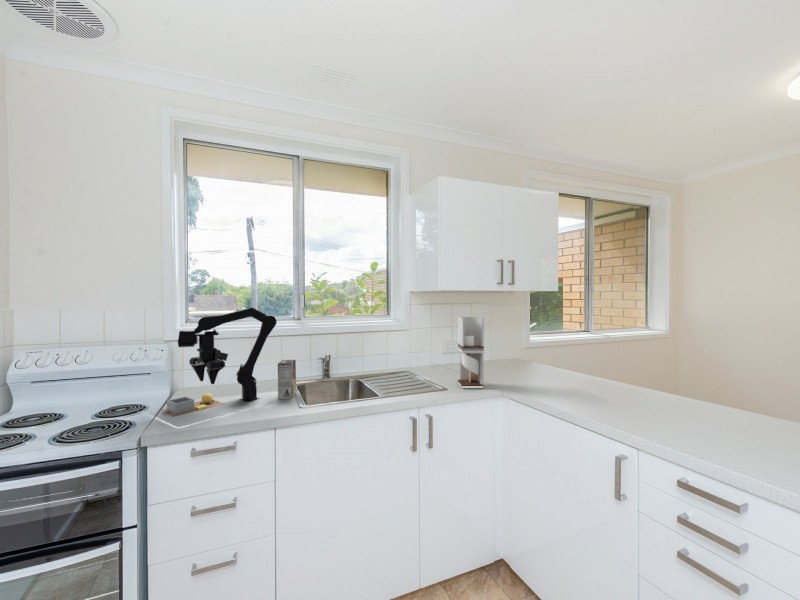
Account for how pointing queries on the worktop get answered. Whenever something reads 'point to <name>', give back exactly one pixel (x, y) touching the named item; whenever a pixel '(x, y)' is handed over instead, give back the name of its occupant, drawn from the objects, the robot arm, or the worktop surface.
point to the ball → (207, 398)
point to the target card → (200, 407)
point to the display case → (471, 350)
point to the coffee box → (286, 379)
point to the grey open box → (180, 405)
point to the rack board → (210, 404)
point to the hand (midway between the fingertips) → (207, 382)
